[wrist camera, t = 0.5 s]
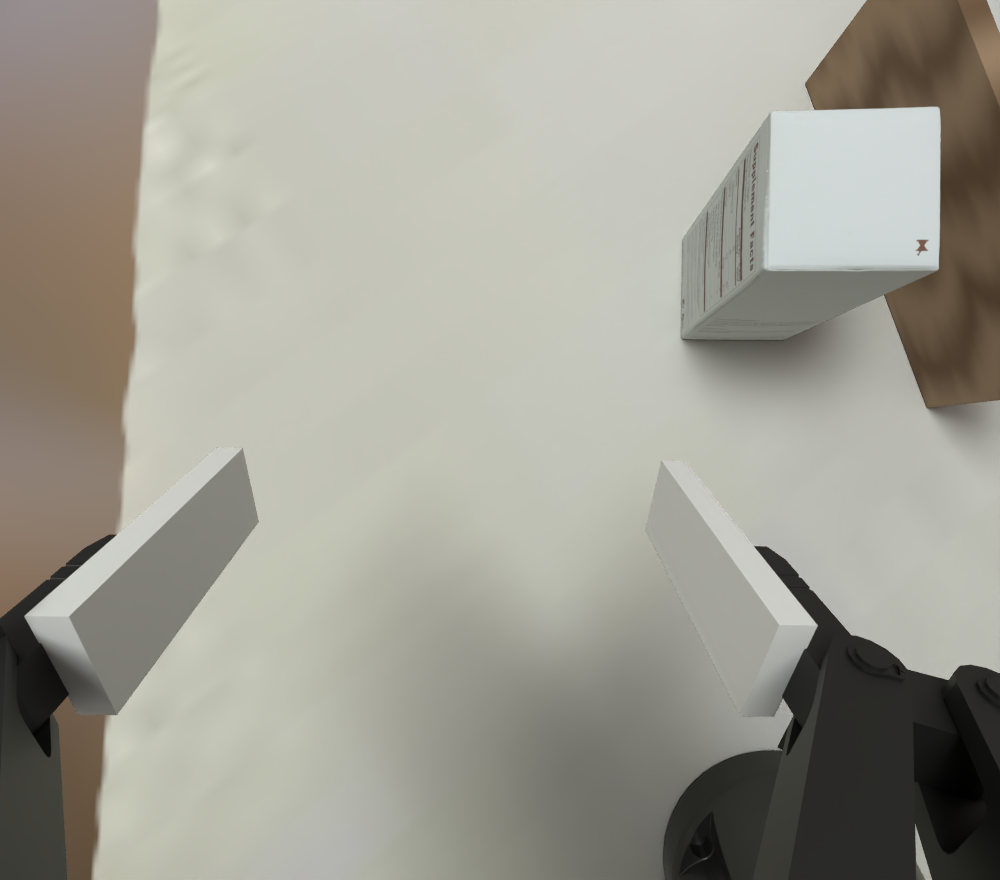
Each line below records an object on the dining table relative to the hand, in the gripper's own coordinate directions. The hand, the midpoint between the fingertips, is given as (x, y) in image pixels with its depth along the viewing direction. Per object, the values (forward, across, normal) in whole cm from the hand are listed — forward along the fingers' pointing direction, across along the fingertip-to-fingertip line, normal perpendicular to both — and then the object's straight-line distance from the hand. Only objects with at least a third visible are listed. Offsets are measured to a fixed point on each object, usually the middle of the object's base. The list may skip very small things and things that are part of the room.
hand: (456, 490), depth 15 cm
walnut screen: (+21, -27, -8) cm, 35 cm away
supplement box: (+21, -18, -4) cm, 28 cm away
